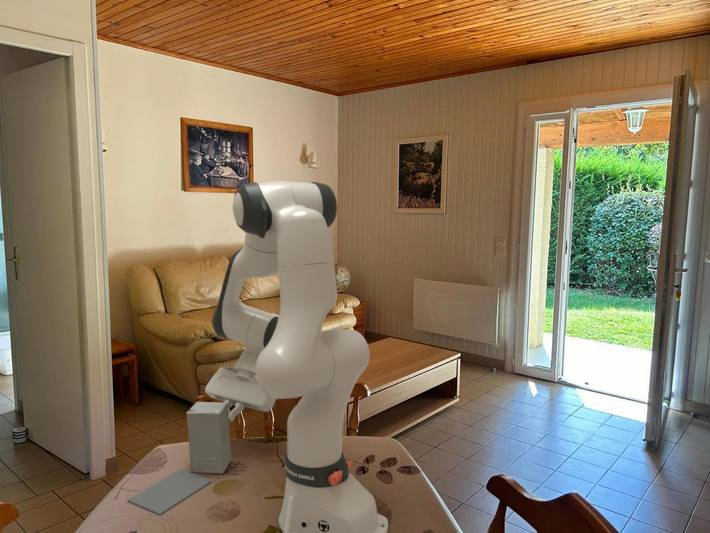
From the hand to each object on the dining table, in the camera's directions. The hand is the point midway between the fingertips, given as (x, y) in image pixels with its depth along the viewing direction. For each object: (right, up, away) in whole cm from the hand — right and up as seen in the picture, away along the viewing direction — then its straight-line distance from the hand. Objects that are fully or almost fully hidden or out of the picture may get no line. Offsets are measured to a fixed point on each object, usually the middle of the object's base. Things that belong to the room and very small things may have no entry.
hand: (226, 419), depth 131 cm
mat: (-9, -12, -14) cm, 21 cm away
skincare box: (-3, -11, -4) cm, 12 cm away
